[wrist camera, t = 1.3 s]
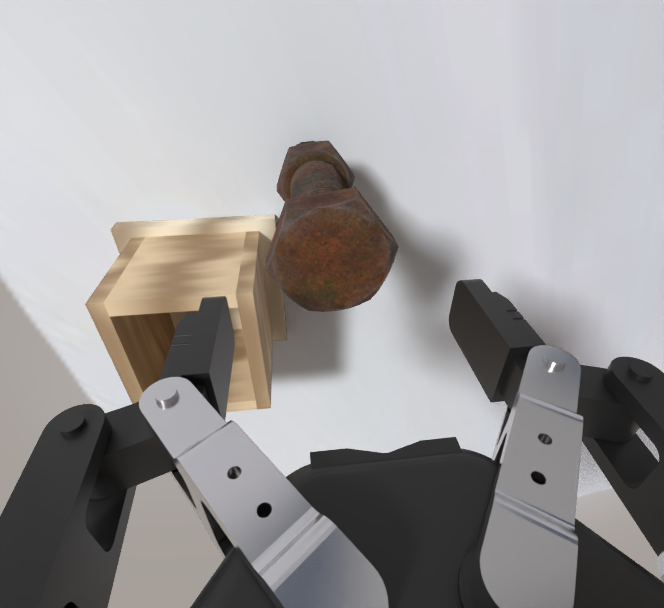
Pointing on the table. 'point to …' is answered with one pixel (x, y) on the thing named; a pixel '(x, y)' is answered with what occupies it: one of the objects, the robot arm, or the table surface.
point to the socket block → (191, 298)
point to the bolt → (326, 233)
